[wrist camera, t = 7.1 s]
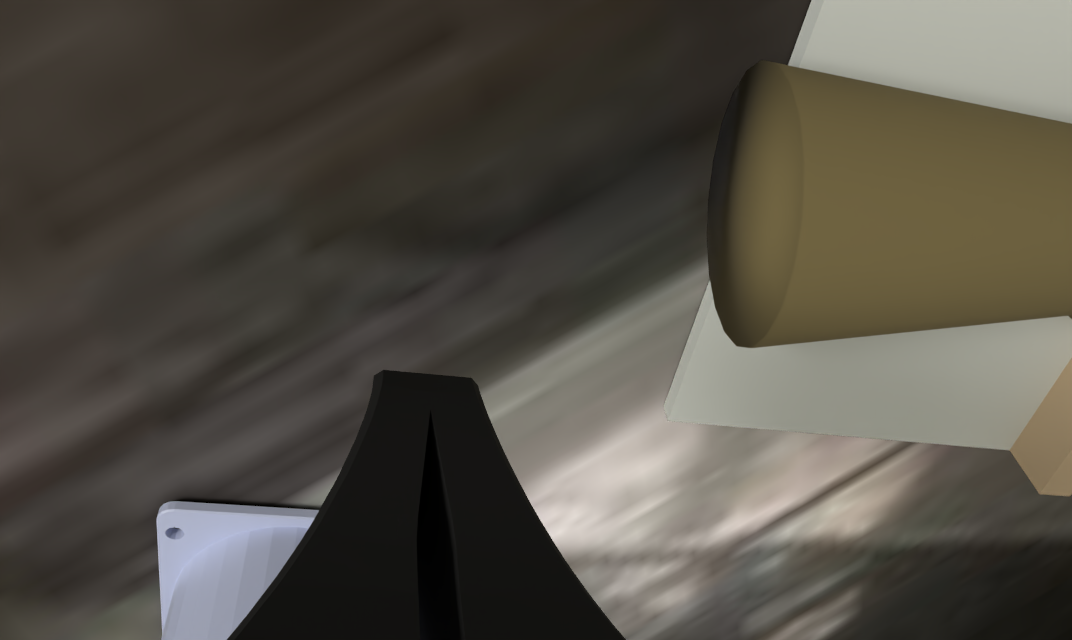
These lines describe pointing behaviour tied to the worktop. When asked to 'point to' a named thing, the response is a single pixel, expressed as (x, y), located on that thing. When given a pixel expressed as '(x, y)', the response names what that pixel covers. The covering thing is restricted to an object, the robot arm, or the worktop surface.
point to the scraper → (931, 355)
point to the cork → (882, 211)
